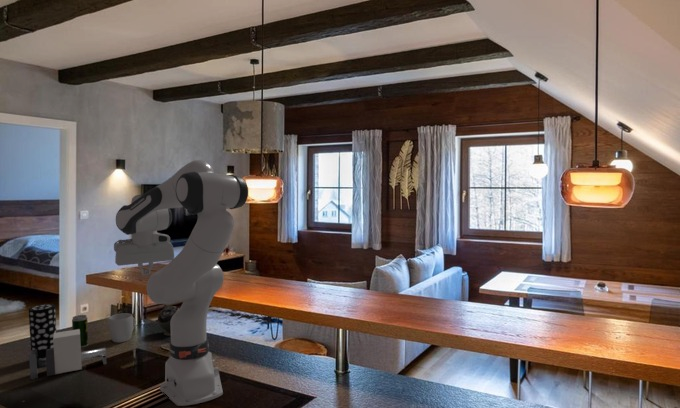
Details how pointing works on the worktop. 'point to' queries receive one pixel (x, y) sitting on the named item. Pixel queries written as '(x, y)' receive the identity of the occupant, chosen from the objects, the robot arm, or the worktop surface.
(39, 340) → the white-spotted black cylinder
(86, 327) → the beer can
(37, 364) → the pipe
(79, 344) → the notched block
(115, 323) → the mug
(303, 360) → the worktop surface
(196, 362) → the robot arm
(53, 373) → the charcoal grey box
